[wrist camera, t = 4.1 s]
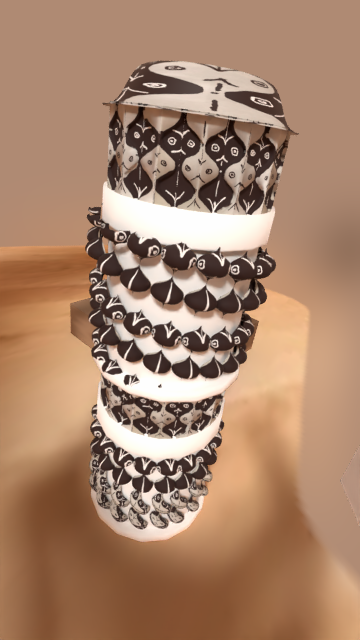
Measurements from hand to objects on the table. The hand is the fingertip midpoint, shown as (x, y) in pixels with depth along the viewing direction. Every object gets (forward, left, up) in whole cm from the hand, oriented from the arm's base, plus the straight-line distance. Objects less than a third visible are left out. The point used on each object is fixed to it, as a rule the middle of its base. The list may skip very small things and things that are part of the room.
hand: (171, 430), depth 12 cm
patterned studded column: (-5, +6, -14) cm, 16 cm away
